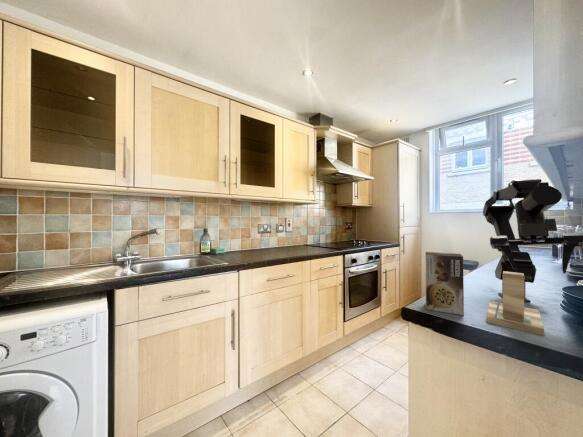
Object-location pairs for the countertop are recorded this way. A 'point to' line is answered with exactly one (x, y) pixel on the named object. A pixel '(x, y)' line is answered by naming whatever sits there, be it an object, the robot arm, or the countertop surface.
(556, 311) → the countertop surface
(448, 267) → the food box
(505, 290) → the wooden block
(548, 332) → the countertop surface
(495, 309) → the maple board
